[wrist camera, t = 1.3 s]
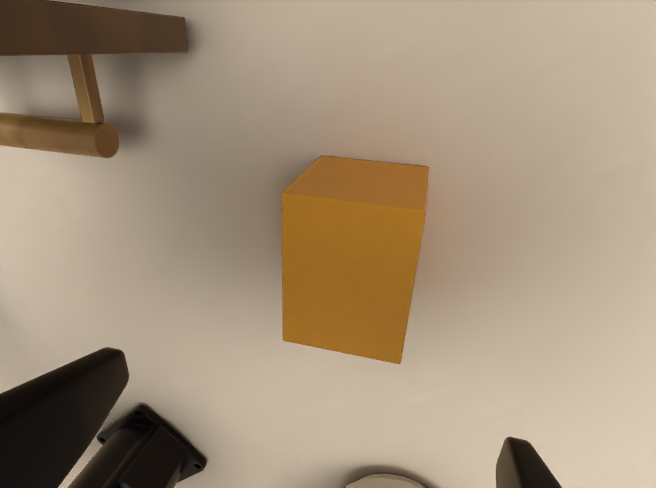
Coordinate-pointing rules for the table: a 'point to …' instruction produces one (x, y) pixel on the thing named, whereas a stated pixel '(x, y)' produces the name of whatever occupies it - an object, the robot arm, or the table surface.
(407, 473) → the table surface
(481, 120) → the table surface
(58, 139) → the drawer
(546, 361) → the table surface
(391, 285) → the orange rectangular block
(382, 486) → the can
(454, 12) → the table surface
